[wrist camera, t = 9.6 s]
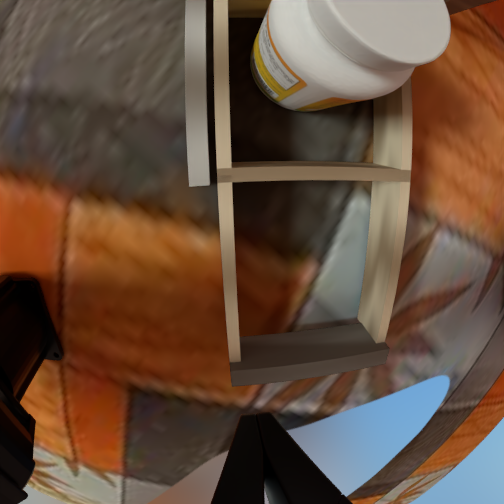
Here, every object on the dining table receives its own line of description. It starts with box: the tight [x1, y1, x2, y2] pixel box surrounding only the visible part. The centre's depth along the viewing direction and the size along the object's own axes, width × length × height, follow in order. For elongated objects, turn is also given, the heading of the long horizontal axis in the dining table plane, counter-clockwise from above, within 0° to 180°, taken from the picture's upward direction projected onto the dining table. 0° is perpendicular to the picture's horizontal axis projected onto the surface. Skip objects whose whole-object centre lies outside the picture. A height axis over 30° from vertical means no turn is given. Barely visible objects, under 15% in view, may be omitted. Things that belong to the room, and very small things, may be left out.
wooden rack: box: [214, 0, 412, 386], centre depth 14 cm, size 20×9×4 cm, turn 1°
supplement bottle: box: [250, 0, 451, 112], centre depth 9 cm, size 5×5×10 cm
